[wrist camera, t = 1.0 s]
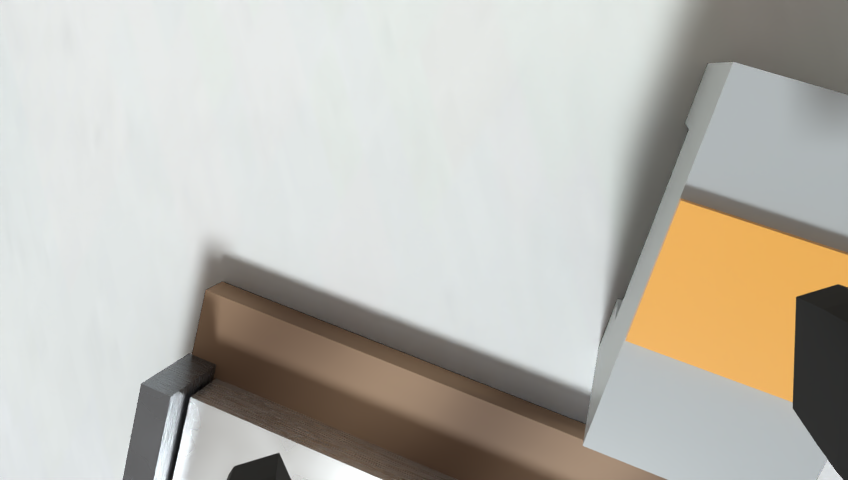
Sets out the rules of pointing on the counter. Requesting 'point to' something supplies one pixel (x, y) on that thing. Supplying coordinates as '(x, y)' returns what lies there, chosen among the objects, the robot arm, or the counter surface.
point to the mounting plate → (392, 396)
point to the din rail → (243, 434)
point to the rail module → (728, 287)
